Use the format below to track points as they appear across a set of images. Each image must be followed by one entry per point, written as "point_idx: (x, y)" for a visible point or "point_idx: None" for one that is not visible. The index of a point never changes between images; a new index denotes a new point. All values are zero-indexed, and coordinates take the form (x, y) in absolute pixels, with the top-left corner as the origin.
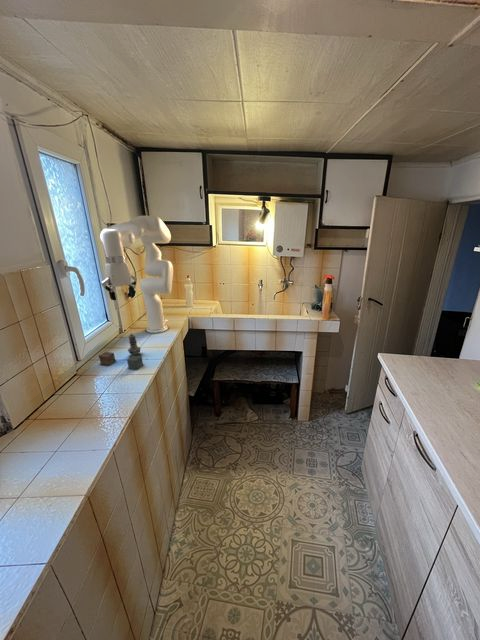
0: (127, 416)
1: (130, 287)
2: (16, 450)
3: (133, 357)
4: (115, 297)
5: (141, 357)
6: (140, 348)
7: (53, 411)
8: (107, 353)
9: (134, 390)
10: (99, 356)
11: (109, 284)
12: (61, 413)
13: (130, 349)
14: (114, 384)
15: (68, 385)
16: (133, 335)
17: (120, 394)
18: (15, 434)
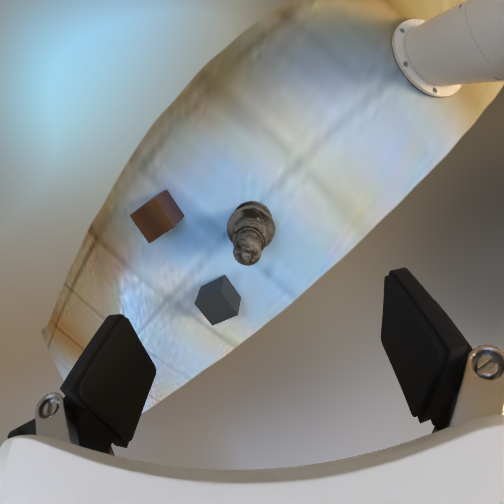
0: (159, 400)
1: (435, 399)
2: (58, 360)
3: (215, 305)
4: (145, 393)
5: (237, 314)
6: (270, 241)
7: (70, 327)
8: (155, 217)
9: (183, 368)
10: (132, 217)
11: (22, 449)
12: (81, 339)
13: (234, 233)
14: (154, 328)
15: (77, 265)
16: (253, 261)
17: (159, 361)
18: (47, 336)
